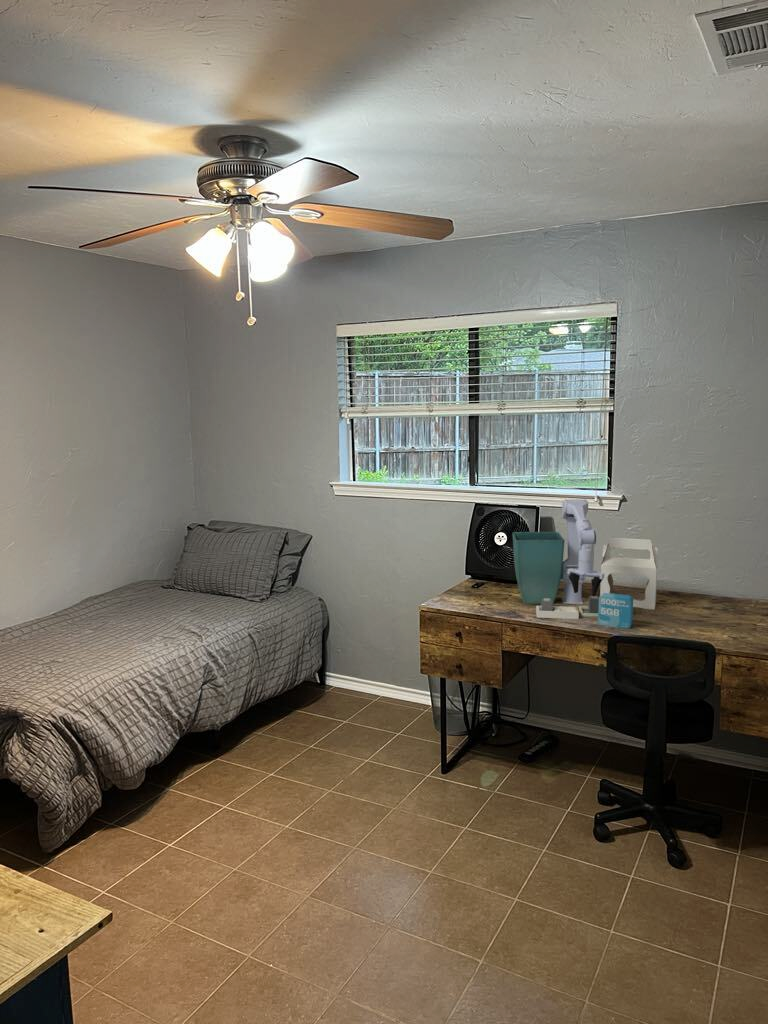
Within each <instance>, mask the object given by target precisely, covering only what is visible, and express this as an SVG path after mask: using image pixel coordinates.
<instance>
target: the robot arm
mask: <svg viewBox="0 0 768 1024" xmlns="http://www.w3.org/2000/svg"><path fill="white" fill-rule="evenodd" d="M561 509H562V512H561V513H562V514H561V515H562V519H563V520H566V524H567V558H566V559H564V560H563V565H562V574H561V580H562V581H563V596H562V597H561V600H562V603H563V604H570V605H571V604H572V605H573V604H575V605H576V604H577V605H582V604H583V605H584V603H583V600H582V588H583V587H582V584H583V583H584V582H585V580H586V579H587V577H588V578H589V577H590V578H592V579H591V581H590V582H591V587H592V588H591V596H597V593H598V590H599V587H600V586H601V581H602V580H603V579H604V574H603V573H601V572H598V571H596V570H594V568H595V566H594V564H595V563H594V561H595V545H596V544H597V531H596V529H594V528H592V525H591V522H590V519H588V518H586V516H587V514H588V512H589V502H588V500H587V499H586V498H584V499H566V498H565V499H563V501H562V504H561Z"/></svg>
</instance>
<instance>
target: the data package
mask: <svg viewBox="0 0 768 1024" xmlns="http://www.w3.org/2000/svg"><path fill="white" fill-rule="evenodd" d="M598 597H599V611H598V616H597V617H598V618H597V619H598V620H597V622H598V624H599V625H601V626H606V627H615V628H621V629H625V630H627V629H630V628H631V627H632V625H633V619H634V618H633V617H634V607H633V598H632V597H631V596H629V595H620V594H611V593H603V594H602V595H601V596H600V595H599V596H598Z"/></svg>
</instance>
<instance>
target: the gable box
mask: <svg viewBox="0 0 768 1024" xmlns="http://www.w3.org/2000/svg"><path fill="white" fill-rule="evenodd" d="M612 549H626V550H627V549H628V550H642V551H644V550H645V551H649V554H650V555H649V556H650V557H649V558H635V557H621V556H620V557H619V556H611V550H612ZM601 557H602V558H603V559H602V561H601V563H600V564H601V565H600V573H603V574H604V579H603V580H602V581H601V583H600V585H599V587H600V589H599V590H600V591H599V592H600V594H599V597H600V596H601V595H602V594H603V593H611V594H620V595H629V596H631V597H632V598H633V608H641V609H643V610H644V609H645V610H653V611H654V610H656V603H657V583H658V566H659V565H658V564H659V562H658V561H659V551H658V546H655V547H654V546H653V543H652V540H651V539H650V538H636V537H634V538H633V537H616V536H615V537H614V536H612V537H610V539H609V542H608V544H607V543H604V544H603V547H602V555H601ZM612 574H623V575H627V576H632V577H633V576H644V577H645V578H648V580H647V582H646V586H645V589H644V590H645V591H644V592H639V591H635V590H632V589H623V590H614V588H613V585H614V579H613V576H612Z"/></svg>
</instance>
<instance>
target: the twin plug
mask: <svg viewBox="0 0 768 1024" xmlns="http://www.w3.org/2000/svg"><path fill="white" fill-rule="evenodd" d="M540 606H541V611H552V606H553V604H552V599H548V598H544V599H542V604H540Z"/></svg>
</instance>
